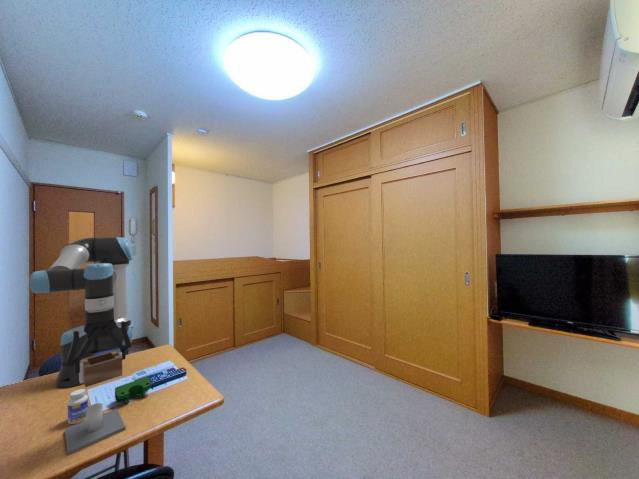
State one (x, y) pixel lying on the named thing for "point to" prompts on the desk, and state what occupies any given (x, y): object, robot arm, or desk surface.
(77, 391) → the pill bottle
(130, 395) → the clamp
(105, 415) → the gray base with post
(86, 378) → the wooden box
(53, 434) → the desk surface
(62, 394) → the desk surface
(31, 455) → the desk surface
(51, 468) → the desk surface
